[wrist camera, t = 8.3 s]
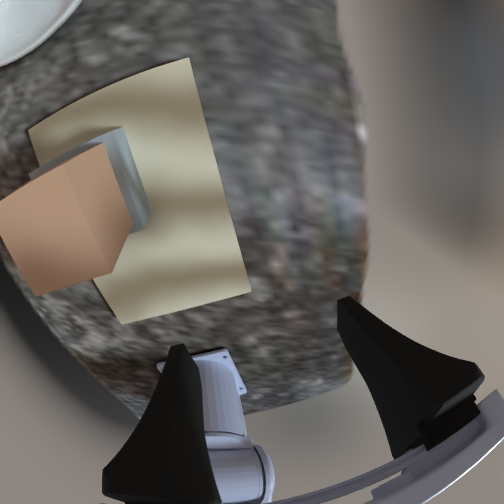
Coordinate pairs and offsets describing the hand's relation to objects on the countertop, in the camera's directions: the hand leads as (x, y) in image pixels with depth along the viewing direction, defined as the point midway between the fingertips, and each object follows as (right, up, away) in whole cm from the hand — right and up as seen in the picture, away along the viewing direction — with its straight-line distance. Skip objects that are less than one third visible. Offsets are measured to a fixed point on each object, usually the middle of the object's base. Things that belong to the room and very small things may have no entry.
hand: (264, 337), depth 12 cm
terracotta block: (-10, +7, +1) cm, 12 cm away
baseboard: (-8, +7, +6) cm, 13 cm away
